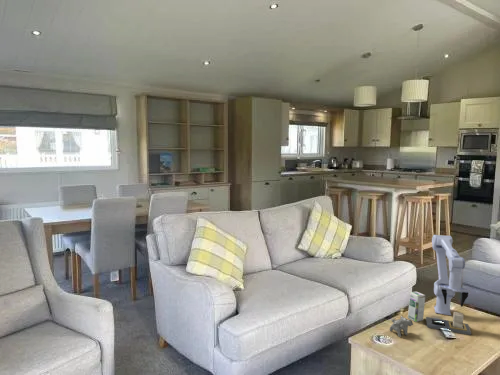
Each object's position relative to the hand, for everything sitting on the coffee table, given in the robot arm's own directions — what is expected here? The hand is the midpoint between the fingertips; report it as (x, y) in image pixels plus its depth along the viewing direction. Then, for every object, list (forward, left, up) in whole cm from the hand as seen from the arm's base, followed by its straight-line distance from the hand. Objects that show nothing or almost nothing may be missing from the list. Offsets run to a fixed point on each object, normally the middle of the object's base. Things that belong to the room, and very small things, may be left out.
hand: (453, 304), depth 201 cm
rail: (+6, -3, -10) cm, 12 cm away
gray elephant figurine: (+22, -25, -11) cm, 35 cm away
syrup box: (+3, -18, -11) cm, 21 cm away
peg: (+6, +2, -10) cm, 12 cm away
